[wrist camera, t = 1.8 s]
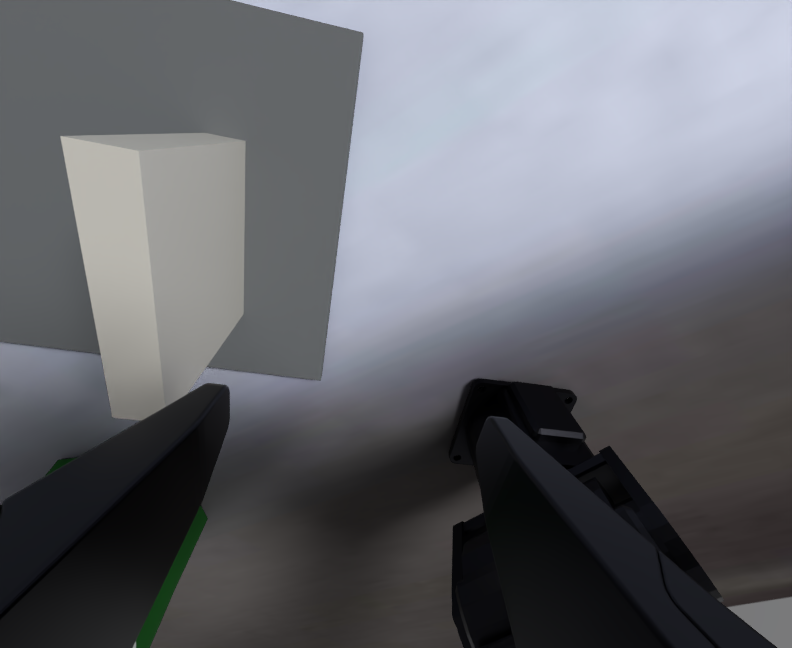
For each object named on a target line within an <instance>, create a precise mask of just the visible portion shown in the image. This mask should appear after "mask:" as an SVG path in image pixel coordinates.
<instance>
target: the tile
mask: <svg viewBox="0 0 792 648" xmlns="http://www.w3.org/2000/svg"><path fill="white" fill-rule="evenodd" d="M60 137H61V143H62V148H63V153H64V159H65V164H66V170H67V175H68V180H69V186H70V191H71V197H72V202H73V208H74V213H75V218H76V224H77V229H78V235H79V240H80V245H81V251H82V256H83V262H84V267H85V272H86V278H87V283H88V289H89V294H90V299H91V305H92V310H93V316H94V321H95V326H96V332H97V337H98V343H99V348H100V354H101V359H102V364H103V370H104V375H105V381H106V386H107V391H108V397H109V402H110V408H111V413H112V418H119V419H129V420H139V421H142V420H143V419H145V418H147V417H148V416H150V415H152V414H154V413H155V412H157V411H159V410H161V409H162V408H164V407H166V406H167V405H169V404H171V403H173V402H174V401H176V400H178V399H180V398H181V397H183V396H185V395H186V394H188V393H189V391H190V390H191V388H192V387H193V385H194V384H195V383H196V381H197V380H198V378H199V377H200V375H201V374H202V373H203V371H204V370H205V368H206V367H207V365H208V364H209V363H210V361H211V360H212V358H213V357H214V355H215V354H216V353H217V351H218V350H219V348H220V347H221V345H222V344H223V343H224V341H225V340H226V338H227V337H228V335H229V334H230V333H231V331H232V330H233V328H234V327H235V326H236V324H237V323H238V321H239V320H240V318H241V317H242V316H243V314H244V231H245V141H243V140H238V139H233V138H228V137H223V136H218V135H213V134H208V133H172V134H127V135H82V136H60Z"/></svg>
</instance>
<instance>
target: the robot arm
mask: <svg viewBox="0 0 792 648" xmlns="http://www.w3.org/2000/svg"><path fill="white" fill-rule="evenodd" d="M480 386H484V387H483V388H482V389H478V388H479V387H480ZM568 397H569V398H568ZM566 398H568V399H566ZM565 399H566V400H565ZM576 401H577V397H576V396H575V394H574V393H573V392H572V391H571V390H566V389H558V388H553V387H551V386H545V385H537V384H529V383H522V382H504V381H497V380H489V379H477V380H475V381H474V382H473V384H472V386H471V389H470V392H469V395H468V398H467V400H466V403H465V406H464V409H463V412H462V415H461V418H460V421H459V424H458V427H457V430H456V433H455V436H454V439H453V442H452V445H451V448H450V450H449V458H450V461H451V462H452V463H456V464H466V465H474V469H475V472H476V475H477V479H478V482H479V485H480V489H481V496H482V503H483V510H484V513H482V514H480V515H478V516H476V517H474V518H472V519H470V520H468V521H466V522H463V521H462V522H460V523H458V524H456V525H454V526H453V552H452V616H453V620H454V623H455V625H456V627H457V630H458V634H459V637H460V639H461V641H462V644H463V647H464V648H777V647H776V646H774V645H773V644H772V643H771V642H769V641H768V640H767V639H766V638H764V637H763V636H762V635H761V634H759V633H758V632H757V631H756V630H754V629H753V628H752V627H750V626H749V625H748V624H747V623H745V622H744V621H743V620H742V619H741V618H739V617H738V616H737V615H736V614H734V613H733V612H732V611H731V610H729V609H728V608H727V607H726V606H724V605H723V604H722V603H721V602H722V601H724V600H723V598H722V596H721V595H720V593H719V592H718V590H717V589H716V587H715V586H714V585H713V583H712V582H711V580H710V579H709V577H708V576H707V575H706V573H705V572H704V570H703V569H702V567H701V566H700V565H699V563H698V562H697V560H696V559H695V558H694V556H693V555H692V553H691V552H690V551H689V549H688V548H687V547H686V545H685V544H684V542H683V541H682V540H681V538H680V537H679V536H678V534H677V533H676V532H675V530H674V529H673V527H672V526H671V525H670V523H669V522H668V521H667V519H666V518H665V517H664V515H663V514H662V513H661V511H660V510H659V509H658V507H657V506H656V505H655V504H654V502H653V501H652V500H651V498H650V497H649V496H648V495H647V493H646V492H645V491H644V489H643V488H642V487H641V486H640V484H639V483H638V482H637V480H636V479H635V478H634V477H633V475H632V474H631V473H630V471H629V470H628V469H627V468H626V466H625V465H624V464H623V462H622V461H621V460H620V459H619V457H618V456H617V455H616V453H615V452H614V451H613V450H612V448H611V447H610V446H608V447H606V448H604V449H602V450H600V451H599V452H600V453H599V454H597V455H595V456H594V455H593V454H592V452H591V451H590V449H589V448H588V446H587V445H586V443H585V442H584V441H585V439H586V435H585V433H584V432H583V430H582V429H581V427H580V426H579V425H578V423H577V422H576V420H575V419H574V417H573V416H572V414H571V411H572V409H573V407H574V405H575V403H576ZM229 420H230V392H229V388H228V387H227V386H226V385H221V384H213V383H206V384H204V385H202V386H200V387H199V388H197V389H195V390H193V391H192V392H190V393H188V394H186V395H185V396H183V397H181V398H180V399H178V400H176V401H174V402H173V403H171V404H169V405H167V406H166V407H164V408H162V409H161V410H159V411H157V412H155V413H154V414H152V415H150V416H148V417H147V418H145V419H143V420H142V421H140V422H138V423H136V424H135V425H133V426H131V427H129V428H128V429H126V430H124V431H123V432H121V433H119V434H117V435H116V436H114V437H112V438H110V439H109V440H107V441H105V442H104V443H102V444H100V445H98V446H97V447H95V448H93V449H91V450H90V451H88V452H86V453H85V454H83V455H81V456H79V457H78V458H76V459H74V460H72V461H71V462H69V463H67V464H66V465H64V466H62V467H60V468H59V469H57V470H55V471H53V472H52V473H50V474H48V475H47V476H45V477H43V478H41V479H40V480H38V481H36V482H34V483H33V484H31V485H29V486H28V487H26V488H24V489H22V490H21V491H19V492H17V493H15V494H14V495H12V496H10V497H9V498H7V499H5V500H4V501H3V503H2V505H0V648H133V646H134V643H135V641H136V639H137V637H138V635H139V633H140V631H141V629H142V627H143V625H144V623H145V621H146V618H147V616H148V614H149V612H150V610H151V608H152V606H153V604H154V602H155V600H156V598H157V595H158V593H159V591H160V589H161V587H162V585H163V583H164V581H165V579H166V577H167V575H168V572H169V570H170V568H171V566H172V564H173V562H174V560H175V558H176V556H177V554H178V552H179V550H180V547H181V545H182V543H183V541H184V539H185V537H186V535H187V533H188V531H189V529H190V527H191V524H192V522H193V520H194V518H195V516H196V514H197V512H198V510H199V507H200V505H201V503H202V501H203V498H204V495H205V492H206V490H207V487H208V484H209V481H210V478H211V475H212V472H213V470H214V467H215V464H216V461H217V458H218V455H219V452H220V449H221V447H222V444H223V441H224V438H225V435H226V432H227V429H228V425H229ZM456 455H458V456H456Z"/></svg>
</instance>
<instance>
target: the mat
mask: <svg viewBox="0 0 792 648" xmlns="http://www.w3.org/2000/svg"><path fill="white" fill-rule="evenodd" d="M362 44H363V33H362V32H358V31H354V30H350V29H346V28H342V27H338V26H334V25H330V24H325V23H321V22H317V21H313V20H309V19H305V18H301V17H297V16H293V15H289V14H285V13H281V12H277V11H273V10H268V9H264V8H260V7H256V6H252V5H248V4H244V3H240V2H236V1H232V0H0V342H8V343H16V344H24V345H32V346H40V347H49V348H57V349H65V350H73V351H82V352H90V353H98V354H100V348H99V343H98V337H97V332H96V326H95V321H94V316H93V310H92V305H91V299H90V294H89V289H88V283H87V278H86V272H85V267H84V262H83V256H82V251H81V245H80V240H79V235H78V229H77V224H76V218H75V213H74V208H73V202H72V197H71V191H70V186H69V180H68V175H67V170H66V164H65V159H64V153H63V148H62V143H61V137H60V136H82V135H127V134H172V133H208V134H213V135H218V136H223V137H228V138H233V139H238V140H243V141H245V231H244V314H243V316H242V317H241V318H240V320H239V321H238V323H237V324H236V326H235V327H234V328H233V330H232V331H231V333H230V334H229V335H228V337H227V338H226V340H225V341H224V343H223V344H222V345H221V347H220V348H219V350H218V351H217V353H216V354H215V355H214V357H213V358H212V360H211V361H210V363H209V364H208V365H207V367H213V368H221V369H229V370H237V371H246V372H254V373H262V374H270V375H278V376H287V377H295V378H303V379H311V380H319V381H321V376H322V369H323V361H324V353H325V345H326V337H327V329H328V321H329V312H330V304H331V296H332V288H333V280H334V272H335V264H336V256H337V247H338V239H339V231H340V223H341V215H342V207H343V199H344V190H345V182H346V174H347V166H348V158H349V150H350V142H351V134H352V125H353V117H354V109H355V101H356V93H357V85H358V77H359V69H360V60H361V52H362Z"/></svg>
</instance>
